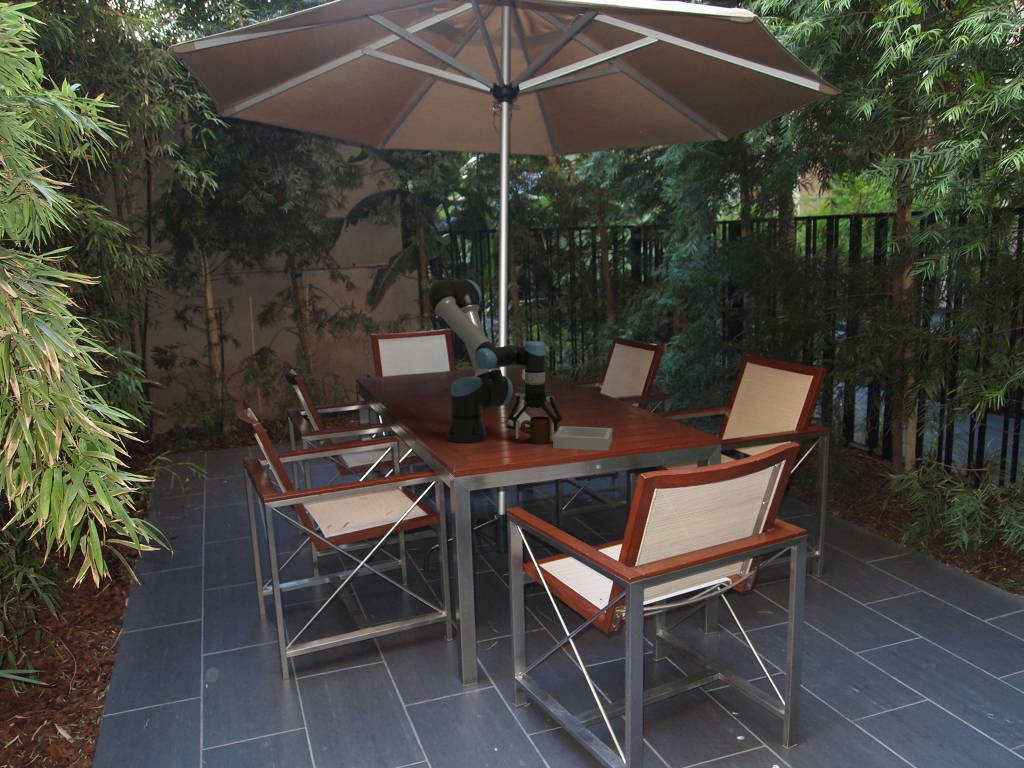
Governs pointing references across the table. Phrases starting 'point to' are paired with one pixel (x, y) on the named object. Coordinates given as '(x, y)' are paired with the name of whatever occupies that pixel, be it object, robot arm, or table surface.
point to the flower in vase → (520, 407)
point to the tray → (582, 438)
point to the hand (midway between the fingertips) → (535, 439)
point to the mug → (538, 429)
